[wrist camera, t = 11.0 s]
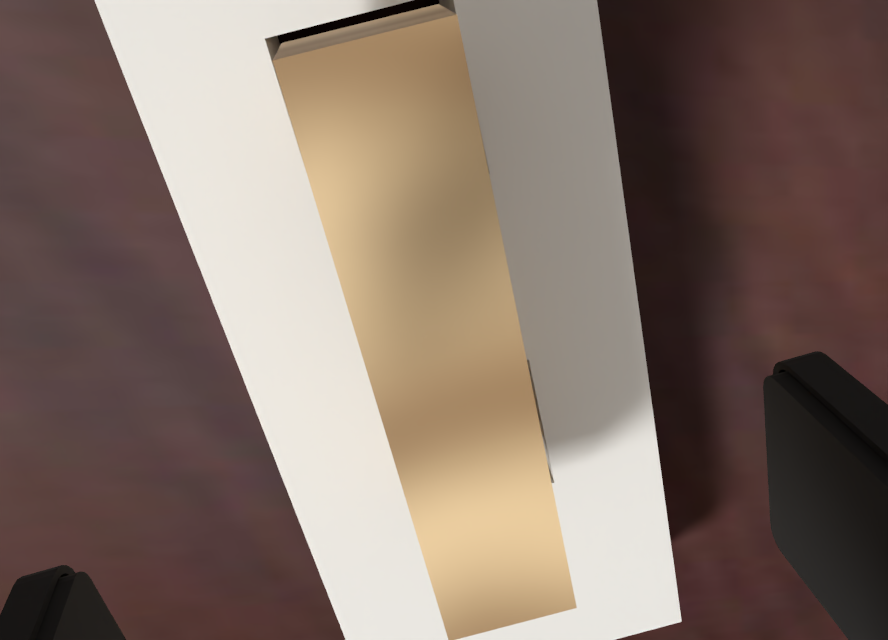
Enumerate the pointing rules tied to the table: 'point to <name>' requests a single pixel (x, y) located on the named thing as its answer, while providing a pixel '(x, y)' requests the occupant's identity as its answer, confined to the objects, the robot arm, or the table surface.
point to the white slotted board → (329, 323)
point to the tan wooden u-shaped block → (432, 306)
